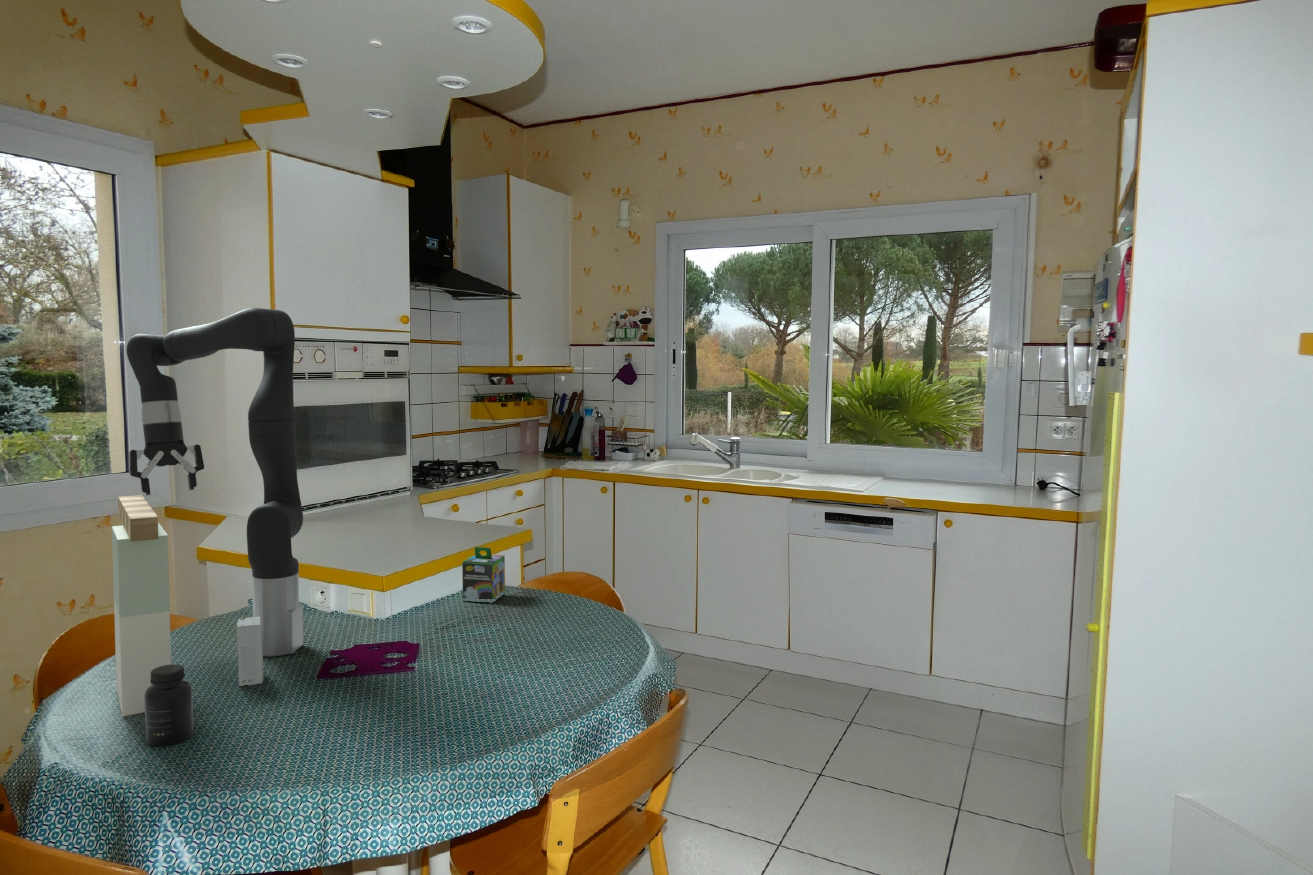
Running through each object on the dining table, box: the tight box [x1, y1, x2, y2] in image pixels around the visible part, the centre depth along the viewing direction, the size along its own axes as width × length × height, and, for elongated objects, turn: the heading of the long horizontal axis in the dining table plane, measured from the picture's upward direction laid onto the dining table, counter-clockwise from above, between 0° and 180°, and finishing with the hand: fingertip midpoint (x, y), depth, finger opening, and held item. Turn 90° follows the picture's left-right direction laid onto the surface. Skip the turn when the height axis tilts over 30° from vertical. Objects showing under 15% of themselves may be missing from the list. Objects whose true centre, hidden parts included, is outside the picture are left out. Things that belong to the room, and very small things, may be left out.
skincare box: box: [236, 616, 264, 687], centre depth 155 cm, size 6×4×12 cm
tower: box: [111, 521, 172, 717], centre depth 144 cm, size 14×8×32 cm, turn 38°
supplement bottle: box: [144, 663, 194, 747], centre depth 130 cm, size 7×7×12 cm
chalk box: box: [461, 546, 506, 599], centre depth 215 cm, size 9×9×15 cm
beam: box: [117, 494, 159, 542], centre depth 146 cm, size 28×4×4 cm, turn 38°
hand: (170, 492), depth 177 cm, fingers open, 8 cm apart
